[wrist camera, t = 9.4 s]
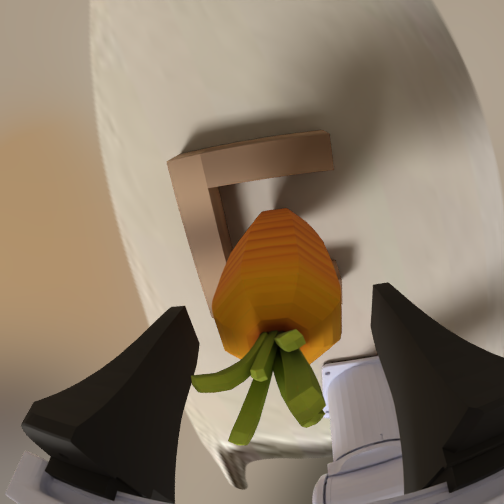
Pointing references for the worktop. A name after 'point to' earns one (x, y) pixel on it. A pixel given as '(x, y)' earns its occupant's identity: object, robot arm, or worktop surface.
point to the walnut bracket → (230, 172)
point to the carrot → (275, 318)
